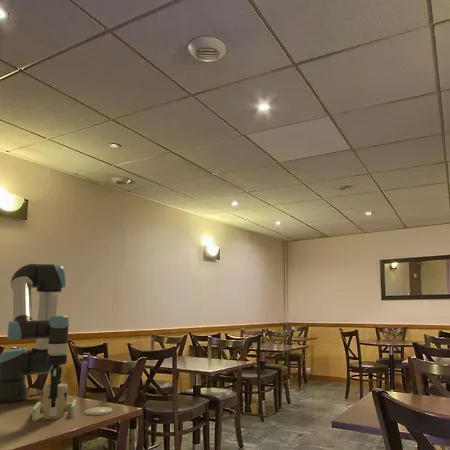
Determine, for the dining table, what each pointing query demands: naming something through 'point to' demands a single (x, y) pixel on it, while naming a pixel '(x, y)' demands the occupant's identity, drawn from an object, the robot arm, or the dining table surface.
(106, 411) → the coaster
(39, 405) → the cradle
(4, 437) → the dining table surface
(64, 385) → the coffee cup
